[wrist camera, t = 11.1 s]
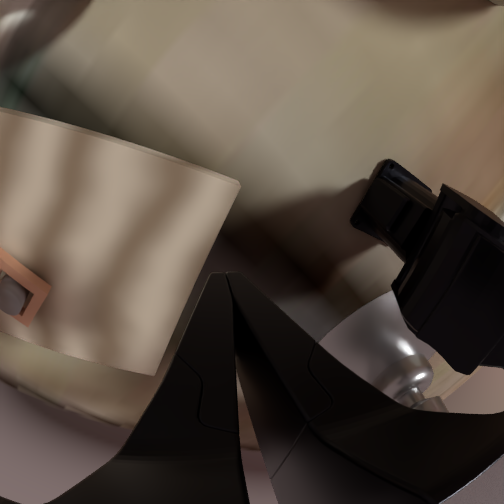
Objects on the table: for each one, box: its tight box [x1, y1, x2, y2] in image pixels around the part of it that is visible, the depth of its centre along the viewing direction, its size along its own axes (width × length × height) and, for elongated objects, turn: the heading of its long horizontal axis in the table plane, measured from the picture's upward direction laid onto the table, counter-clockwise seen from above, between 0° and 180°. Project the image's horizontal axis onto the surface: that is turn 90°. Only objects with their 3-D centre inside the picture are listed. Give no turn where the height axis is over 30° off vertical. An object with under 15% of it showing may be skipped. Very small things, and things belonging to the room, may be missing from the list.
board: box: [0, 107, 241, 376], centre depth 19 cm, size 24×22×4 cm
